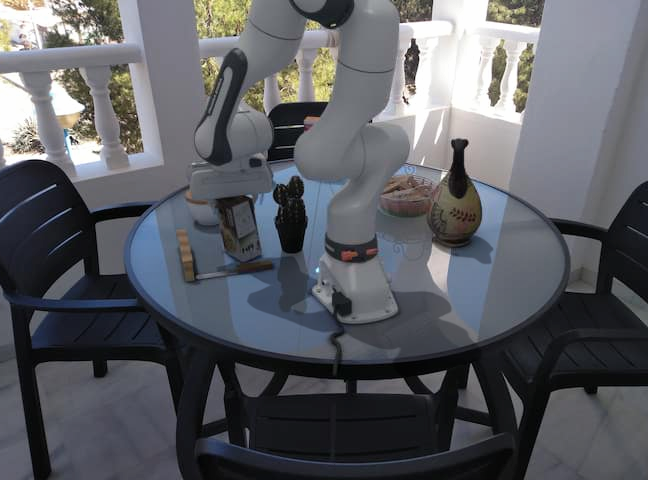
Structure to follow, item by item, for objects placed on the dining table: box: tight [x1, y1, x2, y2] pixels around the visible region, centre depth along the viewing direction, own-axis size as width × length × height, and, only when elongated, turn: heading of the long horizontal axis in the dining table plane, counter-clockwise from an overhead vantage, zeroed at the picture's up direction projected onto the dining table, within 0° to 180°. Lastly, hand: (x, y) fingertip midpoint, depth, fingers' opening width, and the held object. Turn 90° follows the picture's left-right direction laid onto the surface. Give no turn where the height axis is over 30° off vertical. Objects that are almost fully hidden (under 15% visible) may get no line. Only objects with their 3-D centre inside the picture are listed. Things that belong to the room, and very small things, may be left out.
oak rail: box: [176, 228, 196, 282], centre depth 137 cm, size 18×2×6 cm, turn 19°
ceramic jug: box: [425, 137, 483, 248], centre depth 145 cm, size 17×15×30 cm
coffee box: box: [213, 195, 263, 263], centre depth 139 cm, size 9×6×16 cm
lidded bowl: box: [184, 188, 219, 227], centre depth 159 cm, size 13×13×11 cm
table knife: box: [195, 259, 274, 281], centre depth 134 cm, size 2×19×2 cm, turn 109°
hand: (233, 211), depth 137 cm, fingers closed on coffee box, 8 cm apart
